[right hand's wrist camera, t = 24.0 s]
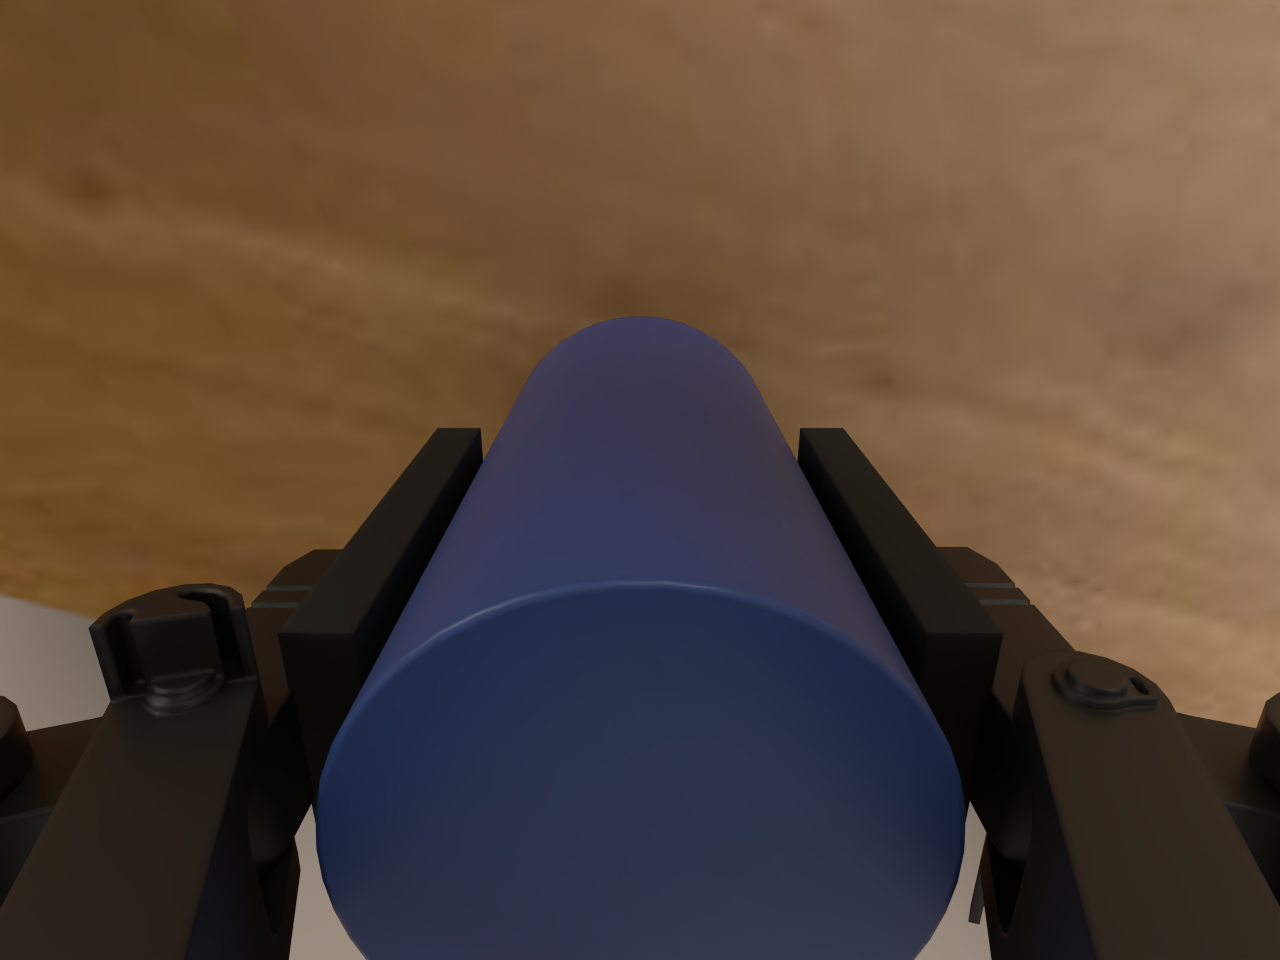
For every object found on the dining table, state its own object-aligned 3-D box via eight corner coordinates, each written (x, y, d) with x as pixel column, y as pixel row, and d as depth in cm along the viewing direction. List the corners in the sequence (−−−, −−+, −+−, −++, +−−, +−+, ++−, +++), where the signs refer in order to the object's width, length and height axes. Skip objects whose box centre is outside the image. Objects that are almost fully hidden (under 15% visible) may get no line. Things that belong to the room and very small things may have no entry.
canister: (821, 433, 17) (1106, 846, 7) (650, 602, 19) (663, 1148, 8) (627, 257, 16) (604, 429, 5) (460, 455, 17) (186, 889, 7)
